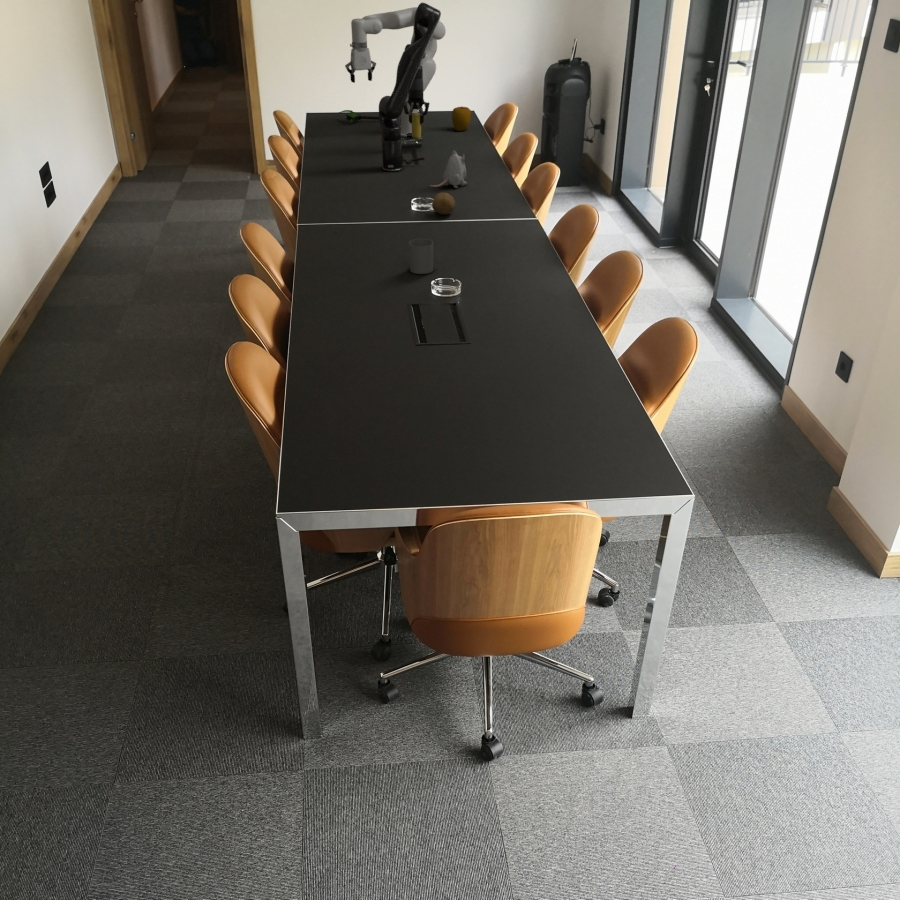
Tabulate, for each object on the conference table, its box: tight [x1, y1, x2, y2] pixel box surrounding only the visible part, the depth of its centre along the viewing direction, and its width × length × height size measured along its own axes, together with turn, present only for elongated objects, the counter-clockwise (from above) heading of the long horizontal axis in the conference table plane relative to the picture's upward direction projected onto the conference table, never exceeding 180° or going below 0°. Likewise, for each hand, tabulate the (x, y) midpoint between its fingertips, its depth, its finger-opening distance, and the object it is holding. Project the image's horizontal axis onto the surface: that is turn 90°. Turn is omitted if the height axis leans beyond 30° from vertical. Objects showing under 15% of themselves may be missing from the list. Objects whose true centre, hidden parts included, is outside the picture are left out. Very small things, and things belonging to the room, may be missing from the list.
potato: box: [431, 192, 456, 216], centre depth 360 cm, size 10×14×8 cm
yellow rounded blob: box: [451, 105, 472, 132], centre depth 487 cm, size 11×11×13 cm
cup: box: [408, 237, 434, 275], centre depth 305 cm, size 8×8×10 cm
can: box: [411, 112, 422, 138], centre depth 442 cm, size 5×5×11 cm
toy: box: [428, 149, 468, 189], centre depth 390 cm, size 9×24×15 cm, turn 137°
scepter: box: [337, 109, 379, 125], centre depth 507 cm, size 6×13×30 cm
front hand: (416, 123), depth 441 cm, fingers closed on can, 5 cm apart
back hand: (361, 81), depth 453 cm, fingers open, 9 cm apart
